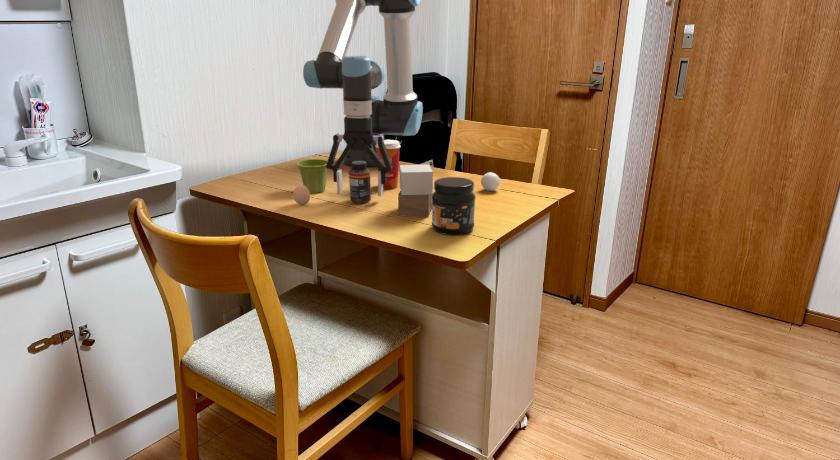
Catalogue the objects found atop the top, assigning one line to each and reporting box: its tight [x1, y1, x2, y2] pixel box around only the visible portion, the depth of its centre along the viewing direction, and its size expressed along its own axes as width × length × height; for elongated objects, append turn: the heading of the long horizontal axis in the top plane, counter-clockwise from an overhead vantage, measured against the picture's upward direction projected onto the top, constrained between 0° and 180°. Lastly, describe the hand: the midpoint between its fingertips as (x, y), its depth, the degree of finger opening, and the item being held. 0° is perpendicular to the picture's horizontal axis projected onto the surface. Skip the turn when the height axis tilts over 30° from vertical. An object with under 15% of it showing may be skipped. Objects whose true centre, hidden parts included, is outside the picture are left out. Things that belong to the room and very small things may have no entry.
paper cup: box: [375, 139, 401, 190], centre depth 175 cm, size 8×8×14 cm
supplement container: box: [431, 176, 476, 236], centre depth 140 cm, size 10×10×12 cm
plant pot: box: [296, 158, 328, 194], centre depth 172 cm, size 9×9×9 cm
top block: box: [399, 164, 434, 195], centre depth 152 cm, size 8×8×6 cm
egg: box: [293, 184, 311, 206], centre depth 159 cm, size 4×4×6 cm
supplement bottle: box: [348, 161, 372, 205], centre depth 162 cm, size 6×6×11 cm
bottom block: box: [397, 190, 432, 218], centre depth 154 cm, size 8×8×6 cm
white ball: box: [480, 171, 501, 192], centre depth 173 cm, size 8×6×6 cm
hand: (360, 194), depth 163 cm, fingers open, 11 cm apart
